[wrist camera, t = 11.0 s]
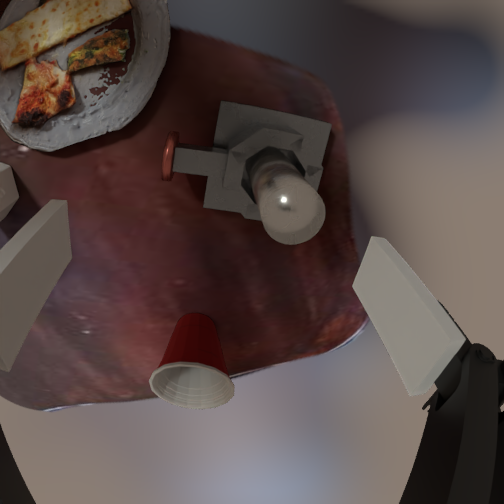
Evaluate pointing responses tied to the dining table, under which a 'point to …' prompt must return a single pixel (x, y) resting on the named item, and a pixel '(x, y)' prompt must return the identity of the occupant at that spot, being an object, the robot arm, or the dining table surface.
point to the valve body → (247, 153)
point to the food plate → (75, 67)
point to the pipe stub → (284, 197)
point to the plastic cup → (193, 366)
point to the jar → (7, 190)
